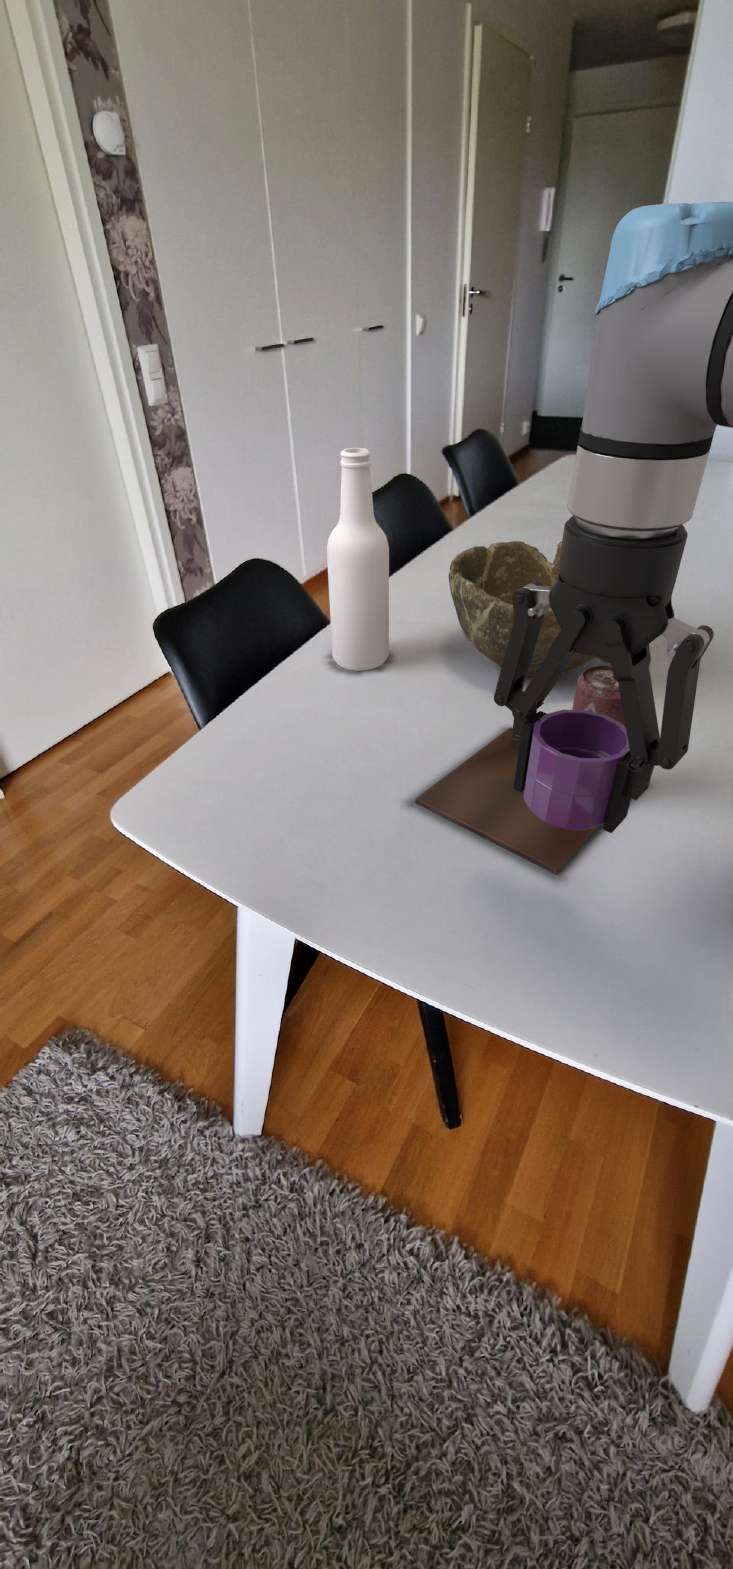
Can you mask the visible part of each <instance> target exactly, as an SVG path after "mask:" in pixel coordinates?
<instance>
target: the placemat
mask: <svg viewBox="0 0 733 1569" xmlns="http://www.w3.org/2000/svg"><path fill="white" fill-rule="evenodd" d="M512 730H513V727H508V728H507V729H506V730H505V731H503V732H502V733H501V734H499V735H498V736H496V738H494V739H493V740H492V741H490V742H489V743H487V744H486V745H485V746H483V747H482V748H481V749H479V750H478V751H477V752H476V753H474V754H472V756H470V757H469V758H467V759H466V760H465V761H463V762H462V763H461V764H460V765H458V766H457V767H456V768H454V769H453V770H452V771H450V772H449V773H448V774H446V775H445V776H444V777H442V778H441V779H440V780H439V781H437V782H436V783H434V784H433V785H431V786H430V787H429V788H428V789H426V790H425V791H424V792H422V793H421V794H419V796H417V797H416V798H414V799H415V802H414V803H415V804H416V805H419V806H421V807H422V808H425V809H427V810H429V811H431V812H433V813H435V814H437V815H438V816H440V817H443V818H444V819H447V820H448V821H450V822H453V823H454V824H456V825H459V826H460V827H462V828H465V829H466V830H468V831H470V832H472V833H474V834H476V835H478V836H480V837H481V838H484V839H486V840H487V841H490V842H492V843H494V844H496V845H498V846H500V847H502V848H504V849H505V850H507V851H509V852H511V853H513V854H515V855H517V856H519V857H521V858H523V859H525V860H527V861H529V862H532V863H533V864H535V865H537V866H539V867H540V868H543V869H545V870H547V871H549V872H551V873H553V874H554V875H557V874H558V872H560V870H561V869H562V868H563V867H564V866H565V865H566V864H567V863H568V862H569V861H570V860H571V859H572V858H573V857H574V855H575V854H576V853H577V852H578V851H579V850H580V849H581V848H582V847H583V846H584V845H585V844H586V843H587V842H588V841H589V840H590V839H591V838H592V837H593V836H594V834H596V832H597V831H598V830H599V829H600V828H601V827H603V826H604V824H601V825H598V826H596V827H593V828H590V829H586V830H568V829H562V828H558V827H555V826H552V825H550V824H548V823H546V822H544V821H543V820H541V819H540V818H539V817H537V816H536V815H535V814H534V813H533V812H532V811H531V810H530V809H529V807H528V805H527V804H526V802H525V800H524V798H523V796H524V790H523V791H522V792H519V791H516V790H514V789H513V788H514V781H515V774H516V767H517V760H518V754H519V752H518V751H516V750H513V749H512V747H511V738H512Z"/></svg>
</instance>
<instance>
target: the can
mask: <svg viewBox="0 0 733 1569" xmlns="http://www.w3.org/2000/svg"><path fill="white" fill-rule="evenodd" d="M571 710H587V711H591V712H595V713H599V714H604V715H606V716H608V717H610V718H612V719H614V720H616V721H618V722H620V723H622V724H623V725H624V726H625V720H624V714H623V708H622V703H621V697H620V691H619V685H618V681H617V680H615V679H614V677H613V672H612V666H611V665H593V666H590V667H587V668H585V669H584V670H583V671H582V674H581V675H580V676H579V677H578V678H577V682H576V687H575V695H574V698H573V704H572V709H571ZM625 727H626V726H625Z"/></svg>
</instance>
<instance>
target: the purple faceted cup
mask: <svg viewBox="0 0 733 1569" xmlns="http://www.w3.org/2000/svg"><path fill="white" fill-rule="evenodd" d="M629 753H630V749H629V743H628V737H627V731H626V727H625V726H624V725H623V724H622V723H620V722H618V721H616V720H614V719H612V718H610V717H608V716H606V715H604V714H599V713H595V712H591V711H587V710H572V709H560V710H557V711H552V712H548V713H547V714H545V715H544V716H543V717H541V718H540V719H539V720H538V721H536V722H535V724H534V731H533V737H532V744H531V750H530V757H529V763H528V770H527V776H526V783H525V789H524V796H523V798H524V800H525V802H526V804H527V805H528V807H529V809H530V810H531V811H532V812H533V813H534V814H535V815H536V816H537V817H539V818H540V819H541V820H543V821H544V822H546V823H548V824H550V825H552V826H555V827H558V828H562V829H568V830H586V829H590V828H593V827H596V826H598V825H601V824H603V825H604V822H605V818H606V814H607V810H608V806H609V802H610V798H611V794H612V790H613V786H614V782H615V778H616V774H617V770H618V766H619V762H620V761H621V760H622V759H624V758H625V757H626V756H627V755H628V754H629Z"/></svg>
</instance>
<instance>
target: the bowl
mask: <svg viewBox="0 0 733 1569" xmlns="http://www.w3.org/2000/svg"><path fill="white" fill-rule="evenodd" d="M556 546H557V547H556V553H555V557H554V559H553V562H550V561H548V558H547V557H546V555H545V554H543V552H541V551H540V550H539V548H537V547H535V546H532V545H531V544H529V543H525V541H521V540H520V541H519V540H513V541H506V542H505V541H501V542H493V543H491V544H490V545H489V546H488V547H486V546H484V545H477V546H472V547H470V548H467V549H465V550H463V551H461V552H460V553H458V554H456V555H455V557H454V558H453V559H452V560H451V561H450V565H449V571H448V572H449V573H448V576H447V577H448V584H449V591H450V595H451V598H452V603H453V606H454V610H455V613H456V616H457V620H458V624H459V626H460V628H461V631H462V632H463V634H464V637H465V638H466V640H467V641H469V642H470V643H471V645H473V646H474V648H475V649H477V651H478V652H480V653H481V654H482V655H484V656H485V657H486V658H488V659H489V660H490V661H491V662H493V663H494V664H496V665H497V666H499V667H500V668H502V664H503V660H504V656H505V653H506V649H507V645H508V641H509V638H510V634H511V630H512V626H513V623H514V612H513V594H514V592H516V591H517V590H519V589H521V588H522V587H524V586H526V585H528V584H530V583H531V582H533V581H539V582H541V583H542V585H543V586H553V585H554V584H555V583H556V581H557V579H558V576H559V571H558V565H559V558H560V552H561V546H562V540H561V541H559V542H558V543H557V545H556ZM560 631H561V628H560V626H559V624H558V621H557V619H556V617H555V615H554V612H553V610H552V608H551V605H550V606H549V610H548V611H547V612H546V613H545V614H544V618H543V623H542V626H541V629H540V633H539V636H538V639H537V643H536V646H535V650H534V653H533V656H532V660H531V663H530V666H529V670H528V673H527V677H534V675H535V674H536V672H537V670H538V669H539V667H540V666H541V664H542V662H543V661H544V659H545V658H546V656H547V655H548V653H549V652H548V650H549V648H550V647H551V645H552V644H553V642H554V640H555V639H556V637H557V636H558V634H559V632H560ZM594 659H596V657H595V656H593V655H581V654H578V653H576V654H575V655H574V657H573V658H572V660H571V661H570V663H569V664H568V666H567V667H566V669H565V670H564V672H563V673H562V674H564V673H565V674H566V673H567V672H570V671H572V670H576V669H577V668H579V667H583V666H585V665H587V664H589V663H590V662H592V661H593V660H594Z"/></svg>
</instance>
